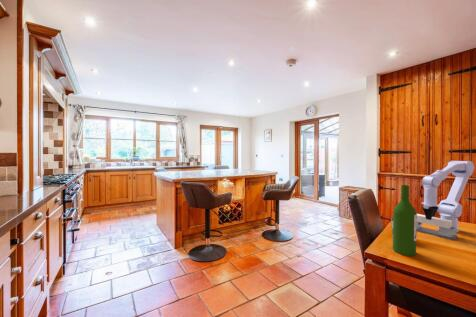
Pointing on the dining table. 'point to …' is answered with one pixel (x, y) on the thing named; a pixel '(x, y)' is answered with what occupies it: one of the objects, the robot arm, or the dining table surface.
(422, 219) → the rail
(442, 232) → the stand
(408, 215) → the wine bottle
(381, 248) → the dining table surface
